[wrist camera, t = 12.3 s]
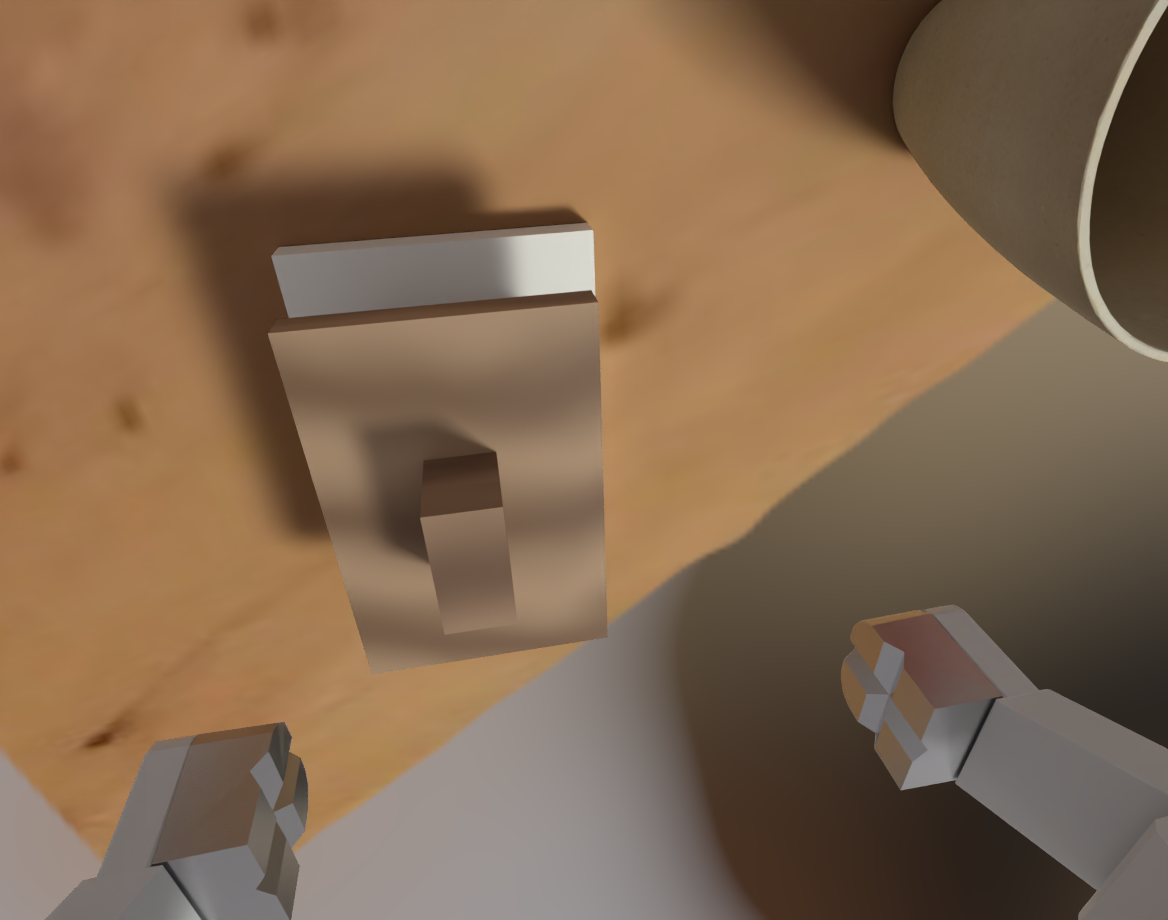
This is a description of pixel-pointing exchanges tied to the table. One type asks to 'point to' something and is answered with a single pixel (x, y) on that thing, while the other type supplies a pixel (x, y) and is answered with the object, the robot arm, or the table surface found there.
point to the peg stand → (435, 269)
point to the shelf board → (452, 412)
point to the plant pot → (1053, 145)
